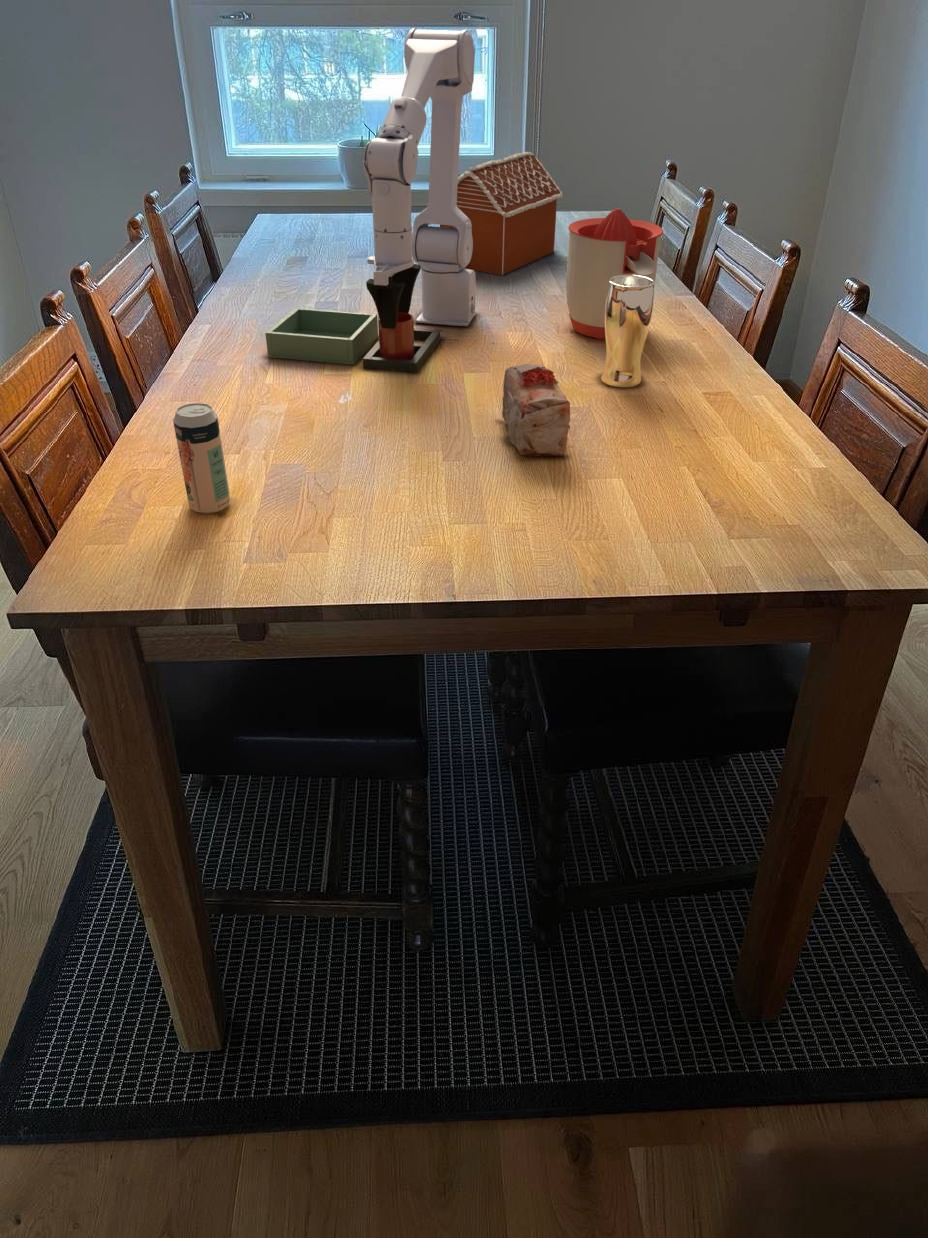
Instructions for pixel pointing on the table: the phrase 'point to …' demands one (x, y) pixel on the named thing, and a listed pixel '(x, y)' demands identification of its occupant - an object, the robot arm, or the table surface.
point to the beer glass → (626, 328)
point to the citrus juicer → (605, 264)
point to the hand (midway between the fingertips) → (395, 320)
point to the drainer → (412, 365)
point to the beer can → (202, 457)
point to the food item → (535, 411)
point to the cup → (397, 338)
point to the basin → (322, 336)
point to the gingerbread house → (508, 212)
